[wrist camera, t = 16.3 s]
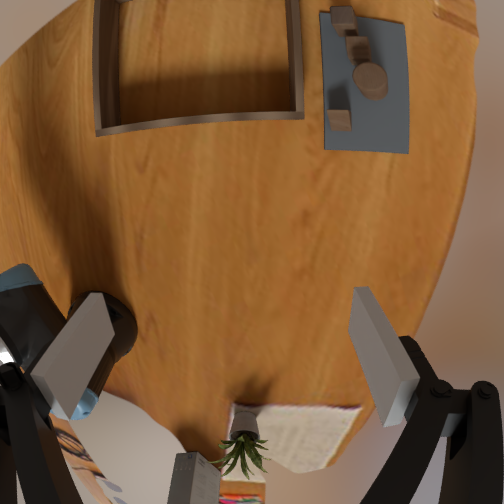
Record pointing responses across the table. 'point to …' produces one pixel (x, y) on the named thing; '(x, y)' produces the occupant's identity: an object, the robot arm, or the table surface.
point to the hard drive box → (194, 480)
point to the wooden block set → (365, 73)
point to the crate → (111, 121)
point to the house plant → (243, 443)
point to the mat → (350, 98)
